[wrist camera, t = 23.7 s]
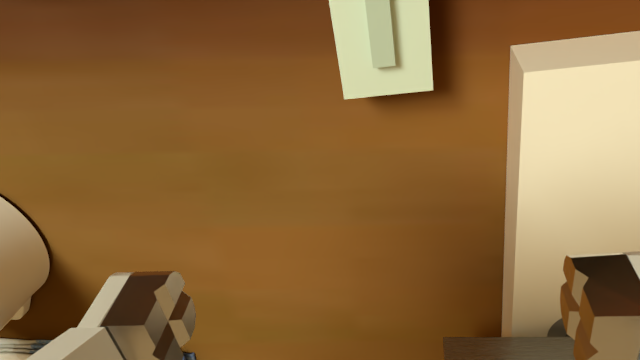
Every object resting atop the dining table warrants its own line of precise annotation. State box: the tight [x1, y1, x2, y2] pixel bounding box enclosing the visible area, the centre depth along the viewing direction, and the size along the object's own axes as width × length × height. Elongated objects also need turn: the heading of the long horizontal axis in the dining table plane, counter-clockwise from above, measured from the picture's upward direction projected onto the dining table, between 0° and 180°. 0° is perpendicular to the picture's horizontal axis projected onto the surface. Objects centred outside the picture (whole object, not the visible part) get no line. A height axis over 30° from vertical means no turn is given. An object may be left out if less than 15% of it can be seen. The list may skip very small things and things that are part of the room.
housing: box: [501, 31, 640, 337], centre depth 36 cm, size 10×29×4 cm, turn 10°
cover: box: [329, 0, 433, 99], centre depth 28 cm, size 5×9×5 cm, turn 10°
